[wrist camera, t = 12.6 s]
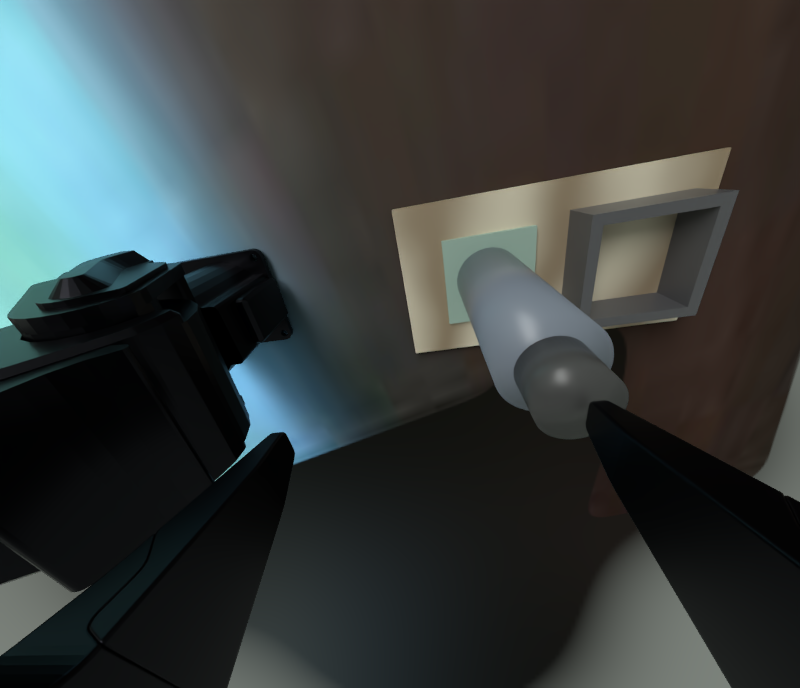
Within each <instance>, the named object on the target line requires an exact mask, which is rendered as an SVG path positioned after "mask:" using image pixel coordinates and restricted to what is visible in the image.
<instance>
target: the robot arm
mask: <svg viewBox="0 0 800 688" xmlns="http://www.w3.org/2000/svg"><path fill="white" fill-rule="evenodd" d="M252 254H254V255H256V256H257V260H255V259H253V257H252ZM287 314H288V311H287V309H286V306H285V304H284V301H283V298H282V296H281V293H280V291H279V288H278V285H277V283H276V281H275V280H274V279H273V278H272V276H271V273H270V271H269V268H268V266H267V263H266V261H265V258H264V256H263V254H262V252H261V251H260V250H258V249H249V250H243V251H238V252H232V253H226V254H221V255H215V256H210V257H204V258H199V259H193V260H188V261H182V262H177V263H169V264H166V262H155V263H154V262H153V261H152V260H151V261H149V260H148V259H146V258H145V257H143V256H142V255H140V254H138V253H137V252H135V251H134V250H133V251H123V252H118V253H114V254H110V255H107V256H103V257H99V258H96V259H92V260H89V261H86V262H83V263H81V264H79V265H78V266H76V267H75V268H73V269H72V270H70V271H69V272H66V273H63V274H62V275H61V276H59V277H58V278H57V279H54V280H50V281H46V282H42V283H38V284H35V285H32V286H31V287H30V288H29V289H28V290H27V291H26V293H25V294H24V295H23V296H22V298H21V299H20V300H19V301H18V302H17V304H16V305H15V306H14V307H13V308H12V310H11V311H10V312H9V313H8V315H7V318H8V319H9V320H10V321H11V322H12V324H13V325H11V326H8V327H4V328H1V329H0V585H2V584H5V583H8V582H11V581H14V580H17V579H20V578H23V577H26V576H29V575H32V574H35V573H38V572H41V571H42V572H43V573H45V574H46V575H48V576H49V577H50V578H52V579H53V580H55V581H56V582H57V583H59V584H60V585H62V586H63V587H64V588H66V589H67V590H69V591H70V592H77V591H81V590H83V589H85V588H87V587H89V586H90V585H91V586H90V587H89V588H88V589H86V590H85V591H84V592H82V593H81V594H80V595H79V596H77V597H76V598H75V599H74V600H72V601H71V602H70V603H68V604H67V605H66V606H64V607H63V608H62V609H61V610H59V611H58V612H57V613H55V614H54V615H53V616H52V617H50V618H49V619H48V620H47V621H45V622H44V623H43V624H41V625H40V626H39V627H38V628H36V629H35V630H34V631H32V632H31V633H30V634H29V635H27V636H26V637H25V638H23V639H22V640H21V641H20V642H18V643H17V644H16V645H15V646H13V647H12V648H10V649H9V650H8V651H6V652H5V653H4V654H2V655H1V656H0V688H227V687H228V684H229V681H230V677H231V674H232V671H233V667H234V665H235V662H236V658H237V655H238V652H239V649H240V646H241V642H242V639H243V636H244V633H245V630H246V626H247V623H248V620H249V617H250V614H251V611H252V607H253V604H254V601H255V598H256V595H257V591H258V588H259V585H260V582H261V579H262V576H263V572H264V569H265V566H266V563H267V560H268V556H269V553H270V550H271V547H272V544H273V541H274V537H275V534H276V531H277V528H278V525H279V521H280V518H281V515H282V512H283V508H284V505H285V500H286V496H287V491H288V486H289V481H290V477H291V472H292V467H293V462H294V457H295V452H294V449H293V447H292V445H291V443H290V441H289V439H288V437H287V435H286V434H285V433H284V432H279V433H272V434H270V435H269V436H267V437H266V438H265V439H264V440H263V441H262V442H260V443H259V444H258V445H257V446H256V447H255V448H253V449H252V450H251V451H250V452H249V453H248V454H246V455H245V456H244V457H243V458H242V459H241V460H239V461H238V462H237V463H236V464H235V465H234V466H232V467H231V468H230V469H229V470H228V471H227V472H225V471H226V470H227V469H228V468H229V467H230V466H231V465H232V464H233V463H234V462H235V461H236V460H237V459H238V457H239V456H240V455H241V453H242V452H243V451H244V450H245V448H246V444H245V442H244V441H245V439H246V436H247V433H248V430H249V427H250V420H249V414H248V412H247V410H246V407H245V403H244V400H243V398H242V396H241V395H240V394H239V392H238V390H237V388H236V386H235V384H234V381H233V379H232V377H231V375H230V373H229V371H230V370H231V369H232V368H233V367H234V366H235V365H236V364H241V363H242V362H243V361H244V360H245V359H246V358H247V357H248V356H249V355H250V354H251V352H252V351H253V350H254V349H255V348H256V347H257V346H258V345H259V344H260V343H262V342H269V341H277V340H284V339H288V338H290V337H291V335H292V334H293V330H292V327H291V325H290V322H289V319H288V317H287ZM283 330H285V331H287V333H288V334H286V333H284V332H283ZM586 429H587V432H588V434H589V437H590V439H591V441H592V443H593V445H594V448H595V450H596V452H597V454H598V456H599V458H600V461H601V463H602V465H603V467H604V469H605V472H606V474H607V476H608V478H609V480H610V482H611V484H612V486H613V488H614V489H615V491H616V493H617V495H618V496H619V498H620V500H621V501H622V503H623V505H624V507H625V508H626V510H627V512H628V513H629V515H630V517H631V518H632V520H633V522H634V523H635V525H636V527H637V528H638V530H639V532H640V534H641V535H642V537H643V539H644V540H645V542H646V544H647V545H648V547H649V549H650V550H651V552H652V554H653V556H654V557H655V559H656V561H657V562H658V564H659V566H660V567H661V569H662V571H663V573H664V574H665V576H666V578H667V579H668V581H669V583H670V584H671V586H672V588H673V589H674V591H675V593H676V595H677V596H678V598H679V600H680V601H681V603H682V605H683V607H684V608H685V610H686V611H687V613H688V615H689V617H690V618H691V620H692V622H693V623H694V625H695V627H696V629H697V630H698V632H699V634H700V635H701V637H702V639H703V640H704V642H705V644H706V645H707V647H708V649H709V650H710V652H711V654H712V655H713V657H714V659H715V661H716V662H717V664H718V666H719V668H720V669H721V671H722V673H723V674H724V676H725V678H726V679H727V681H728V683H729V684H730V686H731V688H800V502H799V501H797V500H795V499H793V498H791V497H789V496H784V495H783V493H781V492H780V491H778V490H776V489H774V488H772V487H770V486H768V485H767V484H764V483H763V482H761V481H759V480H757V479H755V478H753V477H751V476H750V475H748V474H746V473H744V472H742V471H740V470H738V469H736V468H734V467H733V466H731V465H729V464H727V463H725V462H723V461H721V460H719V459H718V458H716V457H714V456H712V455H710V454H708V453H706V452H704V451H702V450H701V449H699V448H697V447H695V446H693V445H691V444H689V443H687V442H685V441H684V440H682V439H680V438H678V437H676V436H674V435H672V434H670V433H669V432H667V431H665V430H663V429H661V428H659V427H657V426H655V425H653V424H652V423H650V422H648V421H646V420H644V419H642V418H640V417H638V416H636V415H635V414H633V413H631V412H629V411H627V410H625V409H623V408H621V407H620V406H618V405H616V404H614V403H612V402H610V401H607V400H601V401H592V402H591V403H590V404H589V407H588V413H587V418H586ZM224 472H225V473H224ZM223 473H224V474H223ZM222 474H223V475H222ZM221 475H222V476H221ZM220 476H221V477H220ZM218 477H220V478H218ZM217 478H218V479H217ZM216 479H217V480H216ZM215 480H216V481H215ZM92 584H93V585H92Z"/></svg>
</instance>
